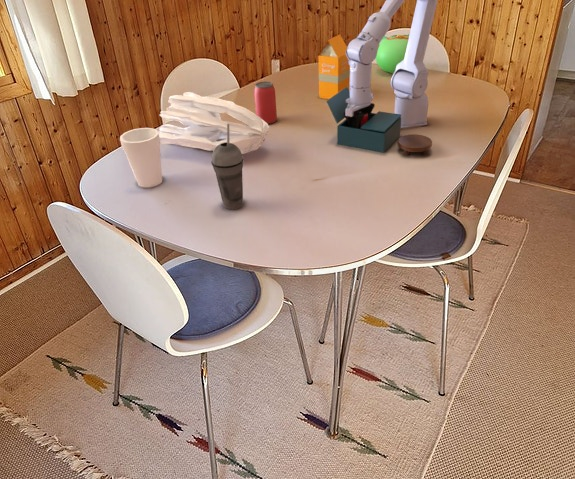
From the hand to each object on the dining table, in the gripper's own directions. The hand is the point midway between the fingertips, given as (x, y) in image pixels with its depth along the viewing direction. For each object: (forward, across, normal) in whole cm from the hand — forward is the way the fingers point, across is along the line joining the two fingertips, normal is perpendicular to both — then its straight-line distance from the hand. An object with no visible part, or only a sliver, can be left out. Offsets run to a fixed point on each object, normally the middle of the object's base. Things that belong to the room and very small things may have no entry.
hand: (358, 132), depth 143 cm
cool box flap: (-8, 0, -5) cm, 9 cm away
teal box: (+2, 0, +3) cm, 4 cm away
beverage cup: (+2, +47, -12) cm, 48 cm away
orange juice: (+2, -32, -24) cm, 40 cm away
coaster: (+2, +2, +17) cm, 18 cm away
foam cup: (+2, +47, -38) cm, 61 cm away
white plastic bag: (+2, +24, -36) cm, 43 cm away
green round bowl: (+2, -66, -12) cm, 67 cm away
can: (+2, 0, 0) cm, 2 cm away
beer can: (+2, -1, -33) cm, 33 cm away
